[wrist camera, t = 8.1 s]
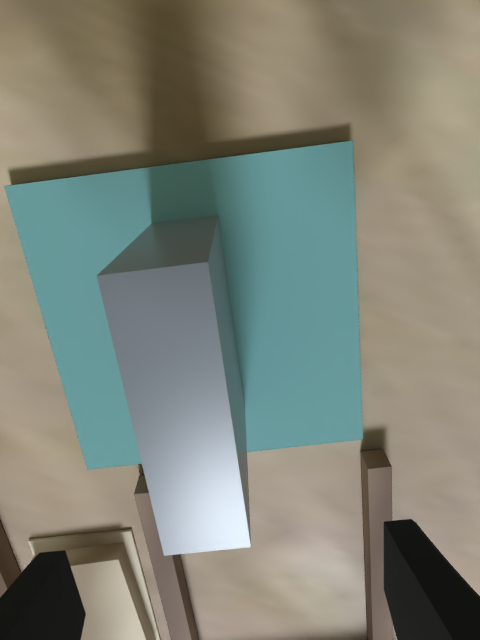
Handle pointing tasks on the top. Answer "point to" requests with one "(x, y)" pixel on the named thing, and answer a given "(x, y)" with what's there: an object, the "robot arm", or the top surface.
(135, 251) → the block
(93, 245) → the mat
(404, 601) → the robot arm
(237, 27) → the top surface
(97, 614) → the offcut top
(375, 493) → the rack
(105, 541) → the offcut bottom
